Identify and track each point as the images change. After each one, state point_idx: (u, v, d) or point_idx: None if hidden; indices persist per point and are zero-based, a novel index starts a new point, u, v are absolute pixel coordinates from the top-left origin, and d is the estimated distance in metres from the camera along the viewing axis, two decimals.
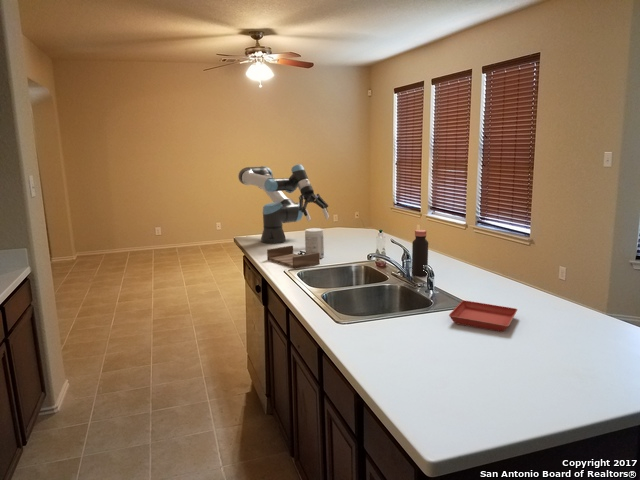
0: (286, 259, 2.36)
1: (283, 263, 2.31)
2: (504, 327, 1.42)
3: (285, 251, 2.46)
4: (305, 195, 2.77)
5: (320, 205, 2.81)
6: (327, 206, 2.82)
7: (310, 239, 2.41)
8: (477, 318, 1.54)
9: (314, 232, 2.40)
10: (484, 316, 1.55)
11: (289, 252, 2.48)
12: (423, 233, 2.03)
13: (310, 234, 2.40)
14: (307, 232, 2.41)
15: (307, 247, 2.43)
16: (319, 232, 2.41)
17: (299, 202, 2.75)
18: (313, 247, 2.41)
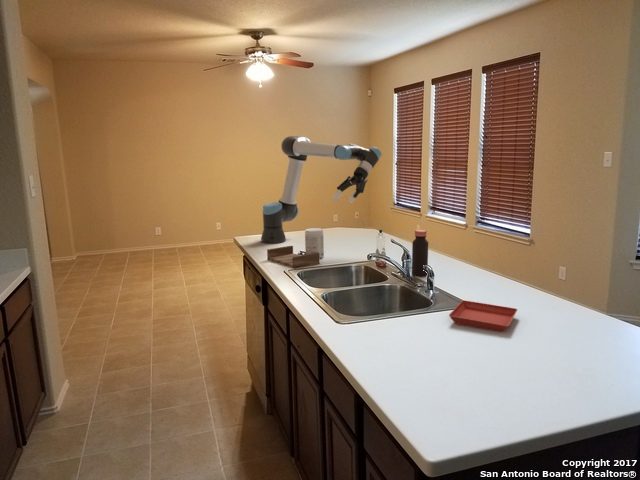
0: (286, 259, 2.36)
1: (283, 263, 2.31)
2: (504, 327, 1.42)
3: (285, 251, 2.46)
4: None
5: (344, 187, 2.60)
6: None
7: (310, 239, 2.41)
8: (477, 318, 1.54)
9: (314, 232, 2.40)
10: (484, 316, 1.55)
11: (289, 252, 2.48)
12: (423, 233, 2.03)
13: (310, 234, 2.40)
14: (307, 232, 2.41)
15: (307, 247, 2.43)
16: (319, 232, 2.41)
17: (363, 182, 2.51)
18: (313, 247, 2.41)
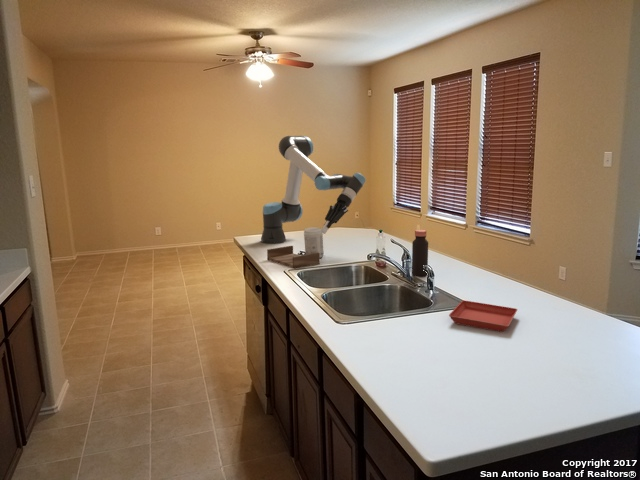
0: (286, 259, 2.36)
1: (283, 263, 2.31)
2: (504, 327, 1.42)
3: (285, 251, 2.46)
4: None
5: None
6: None
7: (309, 239, 2.40)
8: (477, 318, 1.54)
9: (313, 232, 2.39)
10: (484, 316, 1.55)
11: (289, 252, 2.48)
12: (423, 233, 2.03)
13: (309, 234, 2.39)
14: (306, 232, 2.40)
15: (307, 247, 2.42)
16: (318, 232, 2.40)
17: (340, 213, 2.46)
18: (312, 247, 2.41)
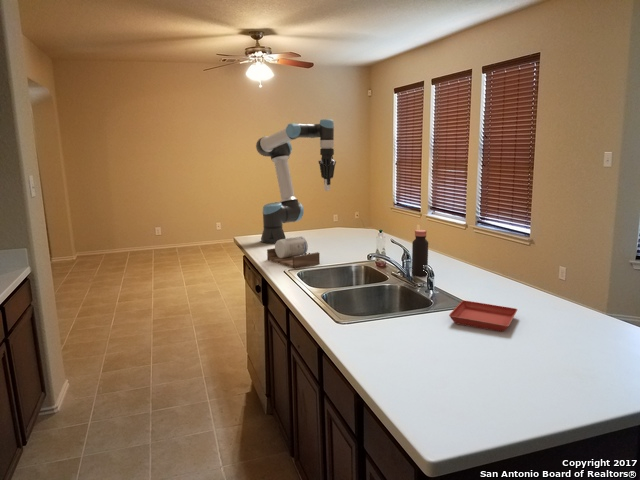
0: (286, 259, 2.36)
1: (283, 263, 2.31)
2: (504, 327, 1.42)
3: None
4: None
5: None
6: None
7: (291, 251, 2.37)
8: (477, 318, 1.54)
9: (285, 247, 2.35)
10: (484, 316, 1.55)
11: None
12: (423, 233, 2.03)
13: (287, 251, 2.35)
14: (285, 255, 2.36)
15: (298, 253, 2.41)
16: (284, 242, 2.35)
17: (331, 168, 2.60)
18: (298, 247, 2.39)
